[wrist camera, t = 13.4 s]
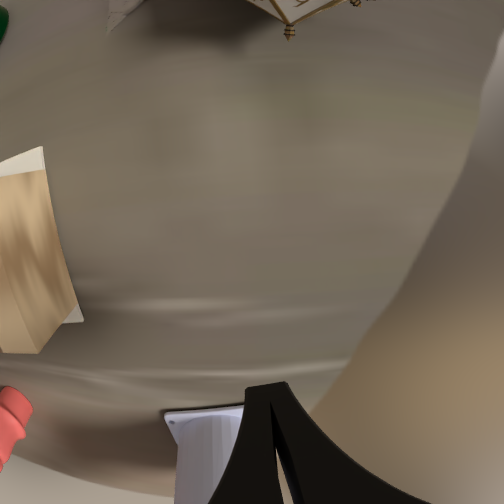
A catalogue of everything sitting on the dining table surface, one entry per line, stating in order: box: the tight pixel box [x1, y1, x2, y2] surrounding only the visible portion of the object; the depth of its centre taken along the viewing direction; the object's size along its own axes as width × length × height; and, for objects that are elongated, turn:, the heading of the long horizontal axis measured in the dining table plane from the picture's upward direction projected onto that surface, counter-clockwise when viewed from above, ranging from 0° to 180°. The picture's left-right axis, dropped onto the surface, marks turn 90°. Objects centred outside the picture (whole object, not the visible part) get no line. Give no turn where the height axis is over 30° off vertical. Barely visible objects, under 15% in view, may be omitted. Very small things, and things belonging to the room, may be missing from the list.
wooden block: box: [0, 169, 78, 354], centre depth 13 cm, size 9×4×6 cm, turn 7°
